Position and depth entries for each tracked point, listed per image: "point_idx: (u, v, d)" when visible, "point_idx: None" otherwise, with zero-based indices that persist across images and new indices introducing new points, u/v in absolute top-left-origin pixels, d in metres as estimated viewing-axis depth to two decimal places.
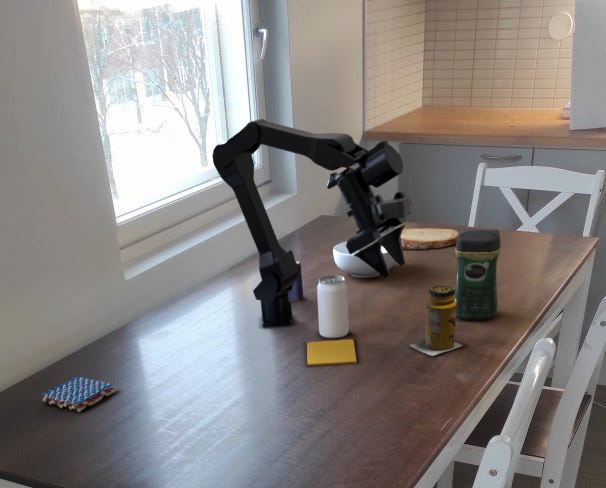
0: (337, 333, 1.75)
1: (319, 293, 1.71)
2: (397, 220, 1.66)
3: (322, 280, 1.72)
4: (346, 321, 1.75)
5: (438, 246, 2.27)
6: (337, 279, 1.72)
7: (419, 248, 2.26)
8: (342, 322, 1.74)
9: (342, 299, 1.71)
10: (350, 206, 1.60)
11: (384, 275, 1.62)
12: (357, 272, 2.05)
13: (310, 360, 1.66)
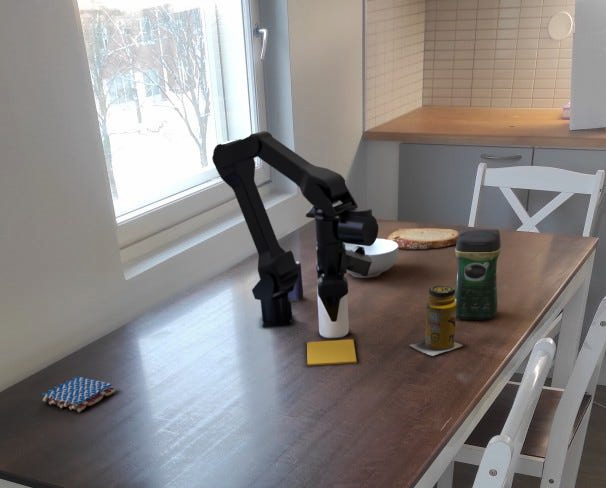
0: (337, 333, 1.75)
1: None
2: None
3: None
4: (346, 321, 1.75)
5: (438, 246, 2.27)
6: None
7: (419, 248, 2.26)
8: (342, 322, 1.74)
9: (342, 299, 1.71)
10: (323, 246, 1.65)
11: (332, 319, 1.72)
12: None
13: (310, 360, 1.66)
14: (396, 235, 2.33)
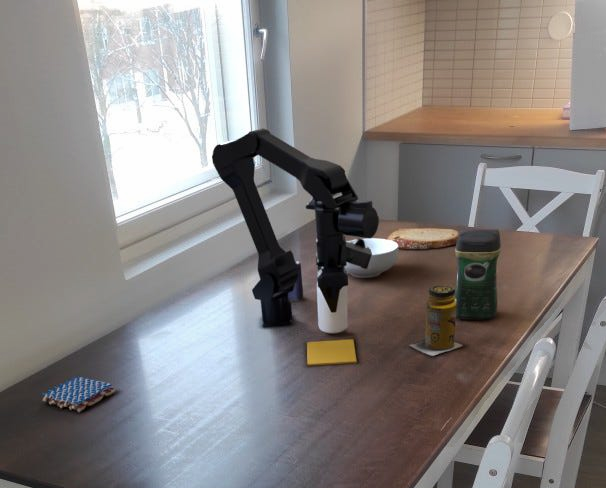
0: (336, 328, 1.75)
1: (319, 289, 1.71)
2: None
3: None
4: (345, 316, 1.75)
5: (438, 246, 2.27)
6: None
7: (419, 248, 2.26)
8: (341, 318, 1.74)
9: (342, 295, 1.71)
10: (323, 238, 1.64)
11: (332, 310, 1.72)
12: (357, 272, 2.05)
13: (310, 360, 1.66)
14: (396, 235, 2.33)
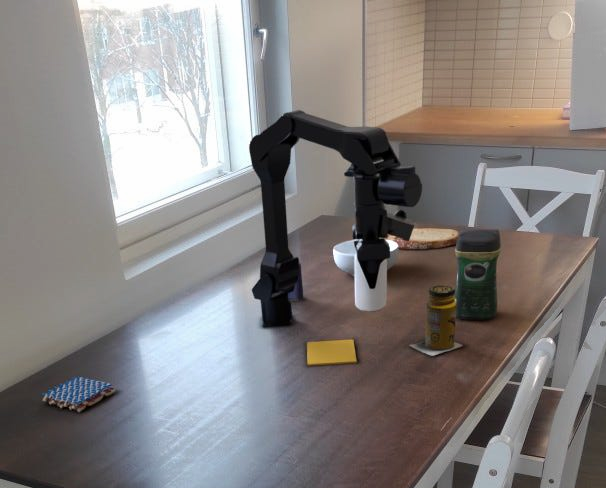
0: (375, 306, 1.63)
1: (357, 264, 1.59)
2: None
3: None
4: (385, 293, 1.63)
5: (438, 246, 2.27)
6: None
7: (419, 248, 2.26)
8: (381, 294, 1.62)
9: (382, 270, 1.59)
10: (362, 207, 1.53)
11: (370, 286, 1.60)
12: None
13: (310, 360, 1.66)
14: None
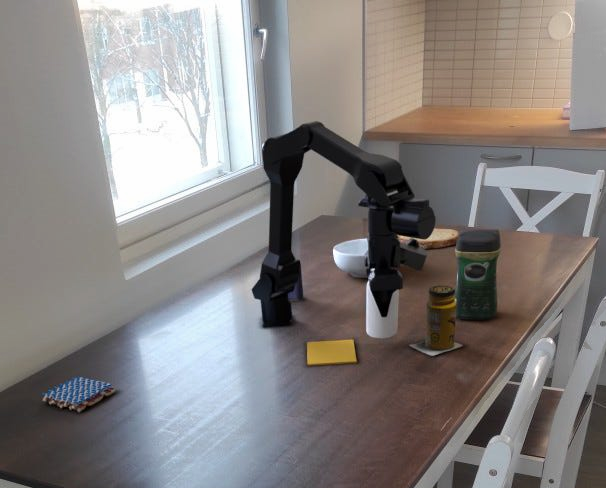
0: (386, 334, 1.64)
1: (369, 292, 1.60)
2: None
3: None
4: (396, 321, 1.64)
5: (438, 246, 2.27)
6: None
7: None
8: (392, 322, 1.63)
9: (394, 299, 1.60)
10: (376, 238, 1.53)
11: (382, 315, 1.61)
12: (357, 272, 2.05)
13: (310, 360, 1.66)
14: None
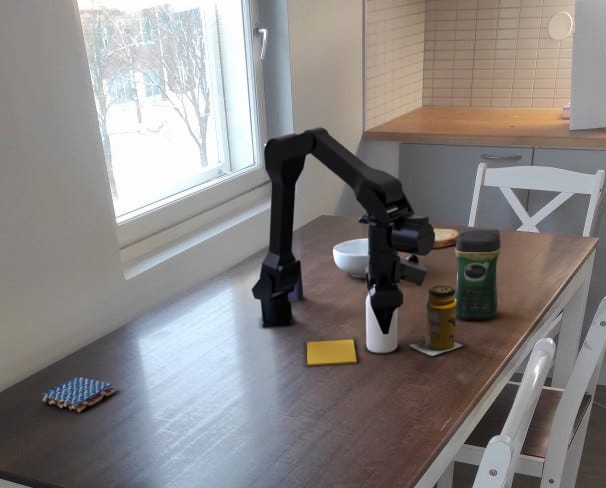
0: (386, 347, 1.66)
1: (368, 306, 1.63)
2: None
3: None
4: (396, 335, 1.66)
5: (438, 246, 2.27)
6: None
7: None
8: (392, 336, 1.65)
9: (393, 312, 1.63)
10: (376, 254, 1.55)
11: (383, 332, 1.62)
12: (357, 272, 2.05)
13: (310, 360, 1.66)
14: None
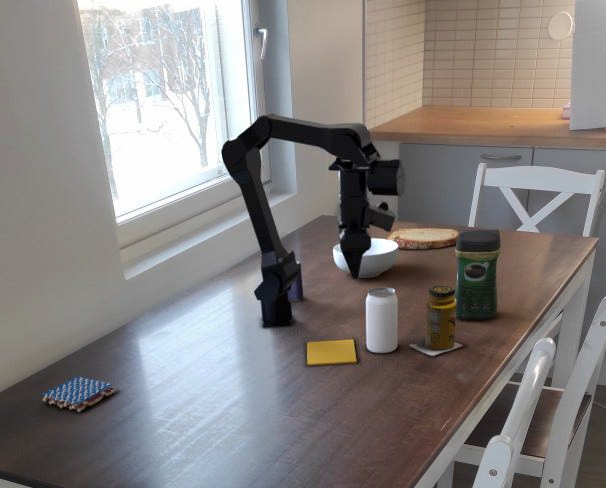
0: (386, 347, 1.66)
1: (368, 306, 1.63)
2: None
3: (371, 292, 1.63)
4: (396, 335, 1.66)
5: (438, 246, 2.27)
6: (387, 291, 1.63)
7: (419, 248, 2.26)
8: (392, 336, 1.65)
9: (393, 312, 1.63)
10: (346, 199, 1.61)
11: (353, 276, 1.68)
12: None
13: (310, 360, 1.66)
14: (396, 235, 2.33)
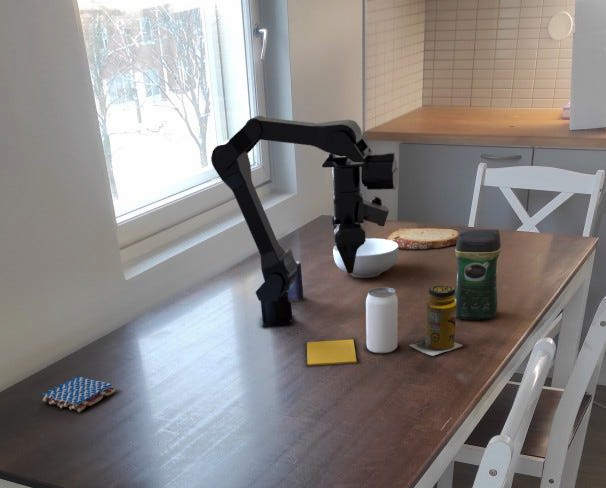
0: (386, 347, 1.66)
1: (368, 306, 1.63)
2: None
3: (371, 292, 1.63)
4: (396, 335, 1.66)
5: (438, 246, 2.27)
6: (387, 291, 1.63)
7: (419, 248, 2.26)
8: (392, 336, 1.65)
9: (393, 312, 1.63)
10: (340, 194, 1.64)
11: (348, 270, 1.70)
12: (357, 272, 2.05)
13: (310, 360, 1.66)
14: (396, 235, 2.33)
